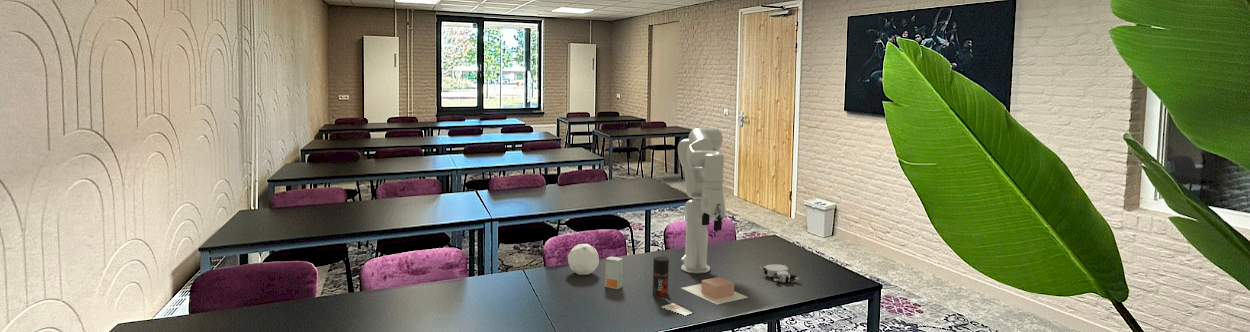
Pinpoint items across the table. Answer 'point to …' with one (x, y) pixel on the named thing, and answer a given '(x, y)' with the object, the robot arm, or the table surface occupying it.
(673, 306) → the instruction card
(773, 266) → the robot toy
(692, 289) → the plate
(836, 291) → the table surface
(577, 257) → the geodesic sphere
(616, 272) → the skincare box
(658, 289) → the deodorant
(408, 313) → the table surface
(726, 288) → the brick
